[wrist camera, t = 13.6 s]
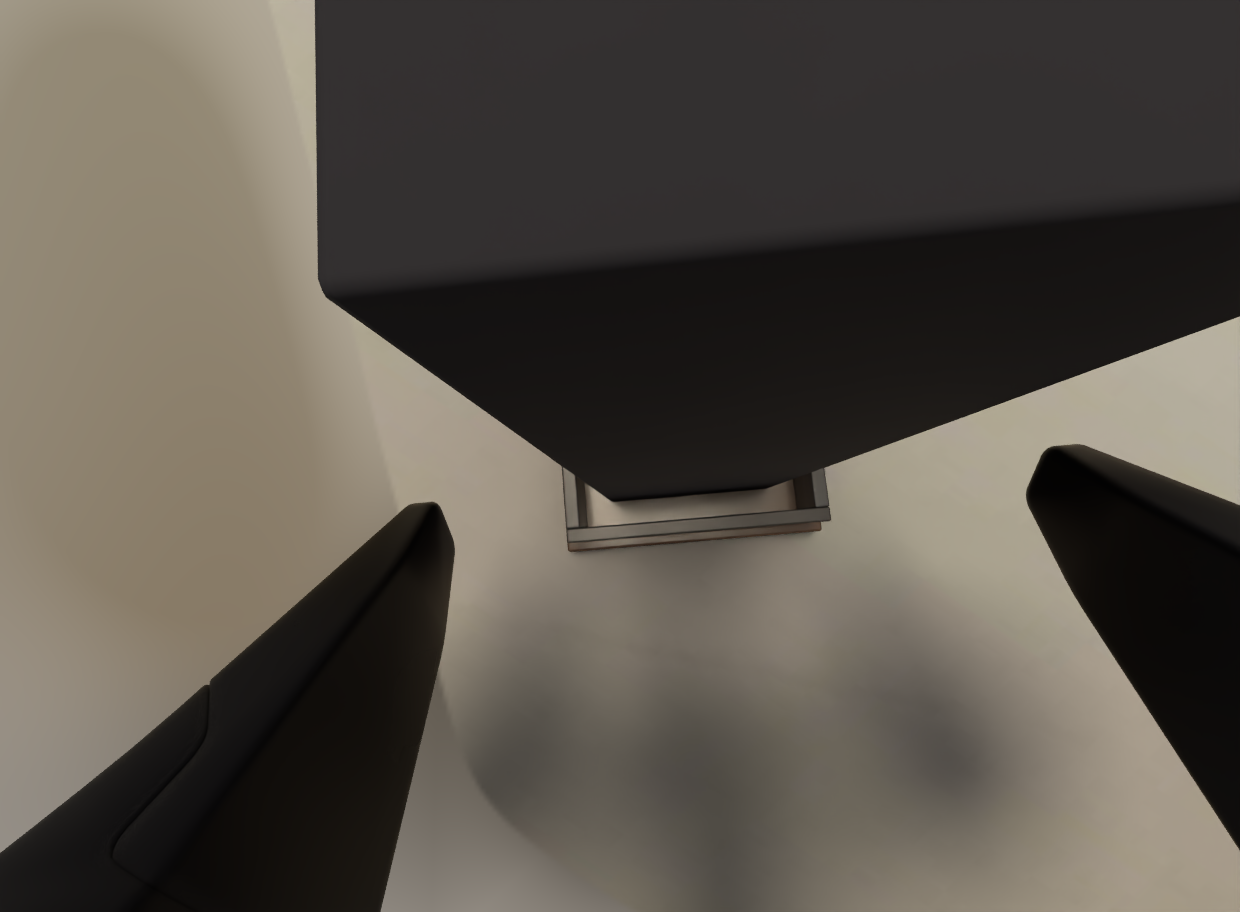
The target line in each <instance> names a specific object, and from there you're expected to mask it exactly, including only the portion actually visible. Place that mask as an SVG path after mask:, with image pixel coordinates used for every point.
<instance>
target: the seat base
mask: <svg viewBox="0 0 1240 912" xmlns="http://www.w3.org/2000/svg"><path fill="white" fill-rule="evenodd" d="M562 476H563V490H564V504H565V518H566V529H567V531H566V532H567V543H568V551H569V552H575V551H587V550H599V549H611V548H623V547H634V546H646V545H658V544H670V543H682V542H694V541H706V540H718V539H730V538H742V537H754V536H765V535H777V534H789V533H801V532H813V531H820V530H821V522H824V521H830V520H831V515H830V508H829V507H828V506H829V500H828V493H827V485H826V478H825V470H824V468H822V469H819V470H817V471H814V472H811V473H808V474H806V475H803V476H800V477H797V478H795V479H792V480H789V481H786V482H784V483H781V484H778V485H775V486H773V487H770V488H767V489H758V490H746V491H735V492H723V493H712V494H700V495H689V496H677V497H666V498H654V499H643V500H631V501H620V502H611V501H610V500H609V499H607V498H606V497H604V496H603V495H602V494H600V493H599V492H597V491H596V490H595V489H593V488H592V487H590V486H589V485H588V484H586V483H585V482H583V481H582V480H581V479H579V478H578V477H576V476H575V475H574V474H572V473H571V472H570V471H568V470H567V469H565V468H564V467H563V466H562Z"/></svg>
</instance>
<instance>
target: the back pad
mask: <svg viewBox="0 0 1240 912" xmlns="http://www.w3.org/2000/svg"><path fill="white" fill-rule="evenodd" d="M315 50H316V140H317V220H318V221H317V226H318V227H317V230H318V280H319V282H320V286H321V288H322V291H323V293H324V294H325V296H326V297H327V298H328V299H329V300H331V301H332V302H333V303H335V304H336V305H338V306H339V307H340V308H342V309H343V310H345V311H346V312H347V313H349V314H350V315H352V316H353V317H354V318H356V319H357V320H359V321H360V322H361V323H363V324H364V325H365V326H367V327H368V328H370V329H371V330H372V331H374V332H375V333H377V334H378V335H379V336H381V337H382V338H384V339H385V340H386V341H388V342H389V343H391V344H392V345H393V346H395V347H396V348H398V349H399V350H400V351H402V352H403V353H405V354H406V355H407V356H409V357H410V358H412V359H413V360H414V361H416V362H417V363H419V364H420V365H421V366H423V367H424V368H426V369H427V370H428V371H430V372H431V373H433V374H434V375H435V376H437V377H438V378H440V379H441V380H442V381H444V382H445V383H447V384H448V385H449V386H451V387H452V388H454V389H455V390H456V391H458V392H459V393H461V394H462V395H463V396H465V397H466V398H467V399H469V400H470V401H472V402H473V403H474V404H476V405H477V406H479V407H480V408H481V409H483V410H484V411H486V412H487V413H488V414H490V415H491V416H493V417H494V418H495V419H497V420H498V421H500V422H501V423H502V424H504V425H505V426H507V427H508V428H509V429H511V430H512V431H514V432H515V433H516V434H518V435H519V436H521V437H522V438H523V439H525V440H526V441H528V442H529V443H530V444H532V445H533V446H535V447H536V448H537V449H539V450H540V451H542V452H543V453H544V454H546V455H547V456H549V457H550V458H551V459H553V460H554V461H556V462H557V463H558V464H560V465H561V466H563V467H564V468H565V469H567V470H568V471H570V472H571V473H572V474H574V475H575V476H576V477H578V478H579V479H581V480H582V481H583V482H585V483H586V484H588V485H589V486H590V487H592V488H593V489H595V490H596V491H597V492H599V493H600V494H602V495H603V496H604V497H606V498H607V499H609V500H610V501H611V502H620V501H631V500H643V499H654V498H666V497H677V496H689V495H700V494H712V493H723V492H735V491H746V490H758V489H767V488H770V487H773V486H775V485H778V484H781V483H784V482H786V481H789V480H792V479H795V478H797V477H800V476H803V475H806V474H808V473H811V472H814V471H817V470H819V469H822V468H825V467H828V466H830V465H833V464H836V463H839V462H841V461H844V460H847V459H850V458H852V457H855V456H858V455H861V454H863V453H866V452H869V451H871V450H874V449H877V448H880V447H882V446H885V445H888V444H891V443H893V442H896V441H899V440H902V439H904V438H907V437H910V436H913V435H915V434H918V433H921V432H924V431H926V430H929V429H932V428H935V427H937V426H940V425H943V424H946V423H948V422H951V421H954V420H957V419H959V418H962V417H965V416H968V415H970V414H973V413H976V412H979V411H981V410H984V409H987V408H990V407H992V406H995V405H998V404H1001V403H1003V402H1006V401H1009V400H1011V399H1014V398H1017V397H1020V396H1022V395H1025V394H1028V393H1031V392H1033V391H1036V390H1039V389H1042V388H1044V387H1047V386H1050V385H1053V384H1055V383H1058V382H1061V381H1064V380H1066V379H1069V378H1072V377H1075V376H1077V375H1080V374H1083V373H1086V372H1088V371H1091V370H1094V369H1097V368H1099V367H1102V366H1105V365H1108V364H1110V363H1113V362H1116V361H1119V360H1121V359H1124V358H1127V357H1130V356H1132V355H1135V354H1138V353H1140V352H1143V351H1146V350H1149V349H1151V348H1154V347H1157V346H1160V345H1162V344H1165V343H1168V342H1171V341H1173V340H1176V339H1179V338H1182V337H1184V336H1187V335H1190V334H1193V333H1195V332H1198V331H1201V330H1204V329H1206V328H1209V327H1212V326H1215V325H1217V324H1220V323H1223V322H1226V321H1228V320H1231V319H1234V318H1237V317H1239V316H1240V0H315Z"/></svg>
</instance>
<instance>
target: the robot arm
mask: <svg viewBox="0 0 1240 912" xmlns="http://www.w3.org/2000/svg"><path fill="white" fill-rule="evenodd" d="M1026 500H1027V504H1028V506H1029V509H1030V511H1031V513H1032V515H1033V517H1034V518H1035V520H1036V522H1037V524H1038V526H1039V528H1040V530H1041V532H1042V534H1043V536H1044V538H1045V540H1046V542H1047V544H1048V546H1049V548H1050V550H1051V552H1052V554H1053V556H1054V558H1055V560H1056V562H1057V564H1058V566H1059V568H1060V570H1061V572H1062V574H1063V576H1064V578H1065V580H1066V581H1067V583H1068V585H1069V587H1070V589H1071V590H1072V592H1073V594H1074V596H1075V597H1076V599H1077V601H1078V602H1079V604H1080V606H1081V607H1082V609H1083V610H1084V612H1085V614H1086V615H1087V617H1088V618H1089V620H1090V621H1091V623H1092V624H1093V626H1094V627H1095V629H1096V630H1097V632H1098V633H1099V635H1100V637H1101V638H1102V640H1103V641H1104V643H1105V644H1106V646H1107V647H1108V649H1109V650H1110V652H1111V653H1112V655H1113V657H1114V658H1115V660H1116V661H1117V663H1118V664H1119V666H1120V667H1121V669H1122V670H1123V672H1124V673H1125V675H1126V676H1127V678H1128V680H1129V681H1130V683H1131V684H1132V686H1133V687H1134V689H1135V690H1136V692H1137V693H1138V695H1139V696H1140V698H1141V699H1142V701H1143V703H1144V704H1145V706H1146V707H1147V709H1148V710H1149V712H1150V713H1151V715H1152V716H1153V718H1154V719H1155V721H1156V723H1157V724H1158V726H1159V727H1160V729H1161V730H1162V732H1163V733H1164V735H1165V736H1166V738H1167V739H1168V741H1169V742H1170V744H1171V746H1172V747H1173V749H1174V750H1175V752H1176V753H1177V755H1178V756H1179V758H1180V759H1181V761H1182V762H1183V764H1184V765H1185V767H1186V769H1187V770H1188V772H1189V773H1190V775H1191V776H1192V778H1193V779H1194V781H1195V782H1196V784H1197V785H1198V787H1199V789H1200V790H1201V792H1202V793H1203V795H1204V796H1205V798H1206V799H1207V801H1208V802H1209V804H1210V805H1211V807H1212V808H1213V810H1214V812H1215V813H1216V815H1217V816H1218V818H1219V819H1220V821H1221V822H1222V824H1223V825H1224V827H1225V828H1226V830H1227V832H1228V833H1229V835H1230V836H1231V838H1232V839H1233V841H1234V842H1235V844H1236V845H1237V847H1238V848H1239V850H1240V505H1238V504H1235V503H1232V502H1230V501H1227V500H1225V499H1222V498H1219V497H1217V496H1214V495H1212V494H1209V493H1207V492H1204V491H1201V490H1199V489H1196V488H1194V487H1191V486H1188V485H1186V484H1183V483H1181V482H1178V481H1176V480H1173V479H1170V478H1168V477H1165V476H1163V475H1160V474H1157V473H1155V472H1152V471H1150V470H1147V469H1144V468H1142V467H1139V466H1137V465H1134V464H1132V463H1129V462H1126V461H1124V460H1121V459H1119V458H1116V457H1113V456H1111V455H1108V454H1106V453H1103V452H1100V451H1098V450H1095V449H1093V448H1090V447H1088V446H1085V445H1080V444H1072V445H1061V446H1053V447H1050V448H1048V449H1046V450H1045V451H1044V452H1043V454H1042V455H1041V458H1040V460H1039V462H1038V464H1037V467H1036V469H1035V471H1034V474H1033V476H1032V478H1031V480H1030V483H1029V485H1028V487H1027V491H1026ZM454 555H455V547H454V541H453V538H452V535H451V533H450V530H449V528H448V525H447V522H446V520H445V517H444V515H443V512H442V510H441V508H440V506H439V505H438V504H437V503H435V502H426V503H414V504H410V505H408V506H407V507H406V508H404V509H403V510H402V511H401V512H400V513H399V514H398V515H396V516H395V517H394V518H393V519H392V520H391V521H390V522H389V523H387V524H386V525H385V526H384V527H383V528H382V529H381V530H379V532H377V533H376V534H375V535H374V536H373V537H372V538H371V539H370V540H368V541H367V542H366V543H365V544H364V545H363V546H361V547H360V548H359V549H358V550H357V551H356V552H355V553H354V554H352V555H351V556H350V557H349V558H348V559H347V560H346V561H344V562H343V563H342V564H341V565H340V566H339V567H338V568H337V569H335V570H334V571H333V572H332V573H331V574H330V575H329V576H328V577H326V578H325V579H324V580H323V581H322V582H321V583H320V584H319V585H317V586H316V587H315V588H314V589H313V590H312V591H311V592H309V593H308V594H307V595H306V596H305V597H304V598H303V599H302V600H300V601H299V602H298V603H297V604H296V605H295V606H294V607H292V608H291V609H290V610H289V611H288V612H287V613H286V614H285V615H283V616H282V617H281V618H280V619H279V620H278V621H277V622H276V623H274V624H273V625H272V626H271V627H270V628H269V629H268V630H267V631H265V632H264V633H263V634H262V635H261V636H260V637H259V638H257V639H256V640H255V641H254V642H253V643H252V644H251V645H250V646H249V647H247V648H246V649H245V650H244V651H243V652H242V653H240V654H239V655H238V656H237V657H236V658H235V659H234V660H233V661H231V662H230V663H229V664H228V665H227V666H226V667H225V668H223V669H222V670H221V671H220V672H219V673H218V674H217V675H216V676H214V677H213V678H212V679H211V681H210V685H204V686H203V687H202V688H201V689H200V690H198V691H197V692H196V693H195V694H194V695H193V696H192V697H191V698H190V699H188V700H187V701H186V702H185V703H184V704H183V705H181V706H180V707H179V708H178V709H177V710H176V711H175V712H174V713H172V714H171V715H170V716H169V717H168V718H166V719H165V720H164V721H163V722H162V723H161V724H159V725H158V726H157V727H156V728H155V729H154V730H152V731H151V732H150V733H149V734H148V735H147V736H145V737H144V738H143V739H142V740H141V741H140V742H138V743H137V744H136V745H135V746H134V747H133V748H131V749H130V750H129V751H128V752H127V753H125V754H124V755H123V756H121V757H120V758H119V759H118V760H117V761H115V762H114V763H113V764H112V765H110V766H109V767H108V768H107V769H105V770H104V771H103V772H102V773H100V774H99V775H98V776H97V777H96V778H94V779H93V780H92V781H91V782H89V783H88V784H87V785H86V786H84V787H83V788H82V789H81V790H80V791H78V792H77V793H76V794H74V795H73V796H72V797H71V798H70V799H68V800H67V801H66V802H64V803H63V804H62V805H61V806H59V807H58V808H57V809H56V810H54V811H53V812H52V813H51V814H49V815H48V816H47V817H45V818H44V819H43V820H41V821H40V822H39V823H38V824H37V825H35V826H34V827H33V828H32V829H30V830H29V831H28V832H26V833H25V834H24V835H23V836H21V837H20V838H19V839H17V840H16V841H15V842H14V843H12V844H11V845H10V846H9V847H7V848H6V849H5V850H4V851H2V852H1V853H0V912H380V911H381V907H382V902H383V898H384V894H385V890H386V886H387V881H388V878H389V873H390V869H391V865H392V860H393V856H394V852H395V848H396V844H397V840H398V836H399V831H400V827H401V823H402V819H403V814H404V810H405V806H406V802H407V798H408V794H409V789H410V785H411V781H412V777H413V773H414V768H415V764H416V760H417V755H418V752H419V747H420V743H421V739H422V735H423V731H424V726H425V722H426V718H427V714H428V710H429V705H430V701H431V697H432V693H433V689H434V684H435V680H436V676H437V672H438V668H439V663H440V659H441V655H442V650H443V645H444V639H445V632H446V624H447V615H448V607H449V598H450V590H451V581H452V573H453V564H454Z"/></svg>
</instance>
